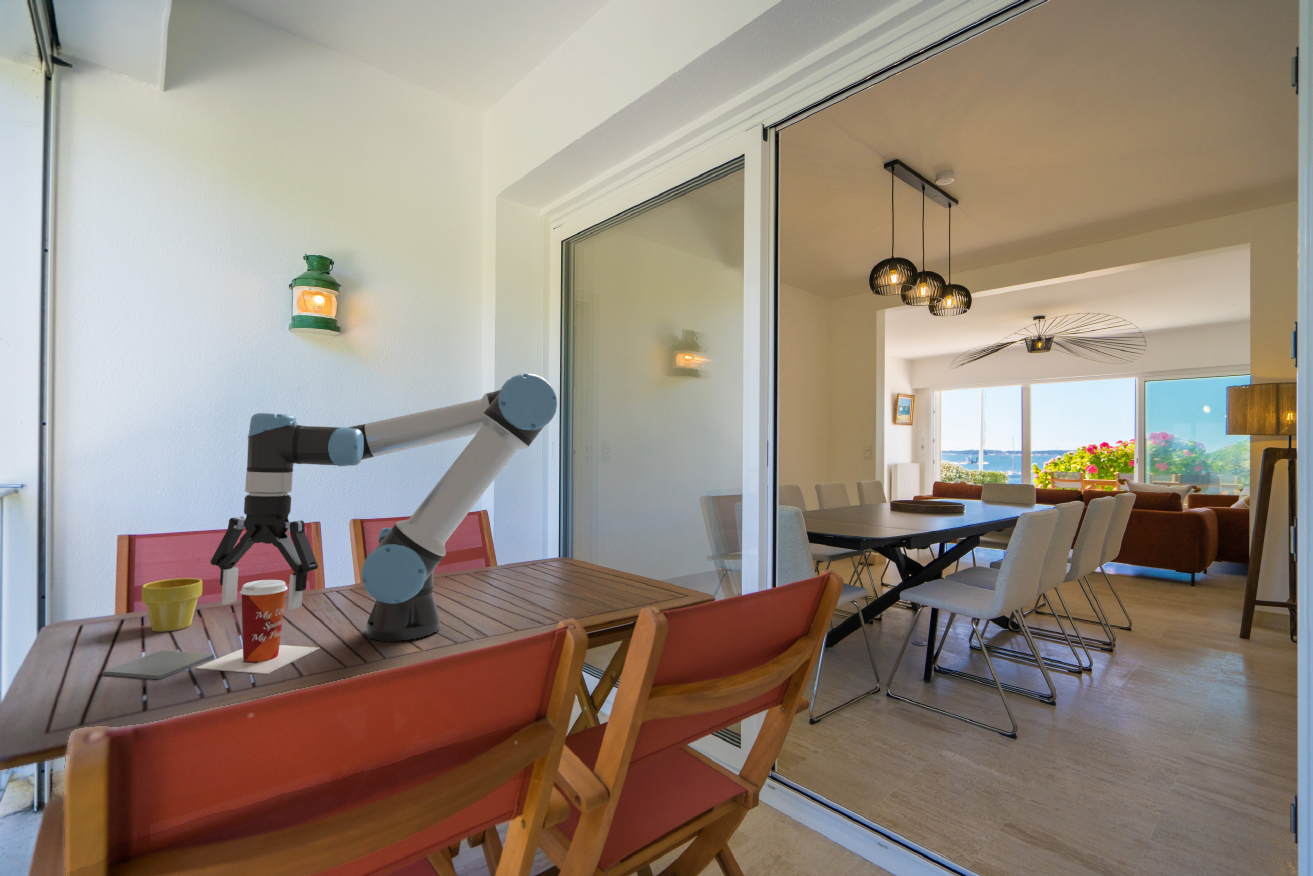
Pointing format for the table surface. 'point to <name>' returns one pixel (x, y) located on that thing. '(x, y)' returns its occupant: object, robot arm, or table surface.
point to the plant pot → (171, 602)
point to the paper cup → (262, 619)
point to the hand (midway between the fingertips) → (261, 605)
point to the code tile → (265, 667)
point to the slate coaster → (158, 664)
